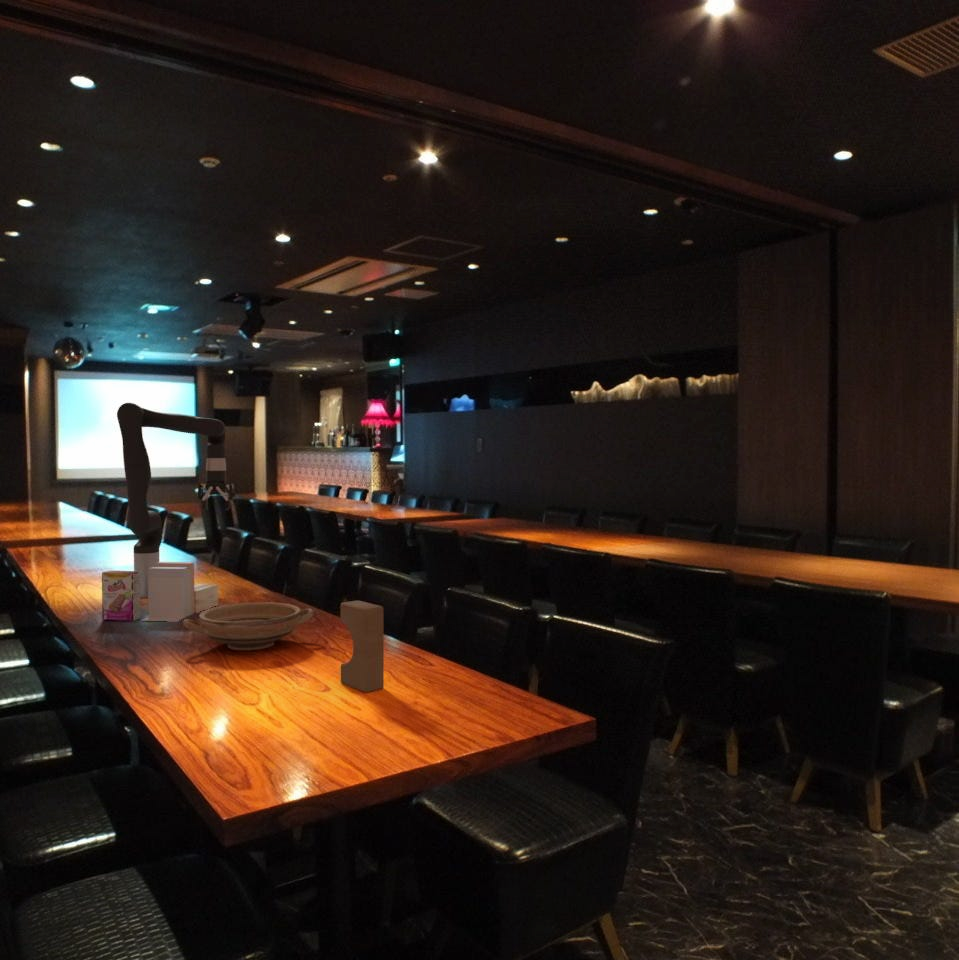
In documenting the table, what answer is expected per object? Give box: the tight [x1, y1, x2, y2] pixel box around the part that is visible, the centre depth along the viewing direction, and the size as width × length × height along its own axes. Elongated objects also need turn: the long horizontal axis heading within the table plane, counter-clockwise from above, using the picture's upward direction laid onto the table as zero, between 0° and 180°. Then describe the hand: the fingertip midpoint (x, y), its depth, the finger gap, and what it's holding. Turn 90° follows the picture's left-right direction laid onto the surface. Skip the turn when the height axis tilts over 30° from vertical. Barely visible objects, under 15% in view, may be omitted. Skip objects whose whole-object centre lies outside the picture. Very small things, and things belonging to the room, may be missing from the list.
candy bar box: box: [101, 569, 141, 622], centre depth 264 cm, size 11×5×16 cm, turn 84°
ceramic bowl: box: [182, 601, 314, 652], centre depth 231 cm, size 37×29×10 cm
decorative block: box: [339, 600, 385, 694], centre depth 191 cm, size 11×6×20 cm, turn 42°
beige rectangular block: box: [194, 583, 219, 614], centre depth 282 cm, size 7×14×8 cm, turn 167°
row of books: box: [141, 561, 195, 623], centre depth 268 cm, size 12×14×18 cm
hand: (216, 510), depth 314 cm, fingers open, 8 cm apart
